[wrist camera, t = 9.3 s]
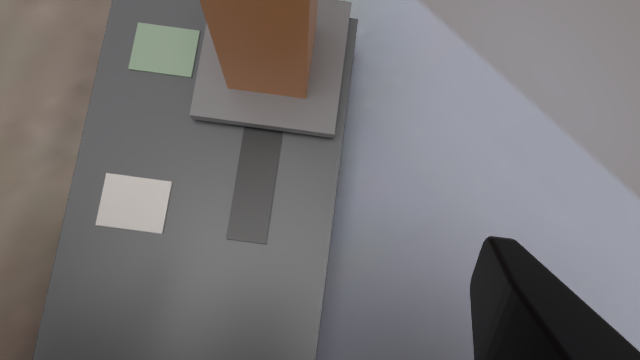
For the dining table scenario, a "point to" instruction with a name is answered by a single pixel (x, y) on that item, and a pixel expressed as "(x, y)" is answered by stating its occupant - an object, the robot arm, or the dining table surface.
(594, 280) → the dining table surface
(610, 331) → the robot arm
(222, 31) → the handle
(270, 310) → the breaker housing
